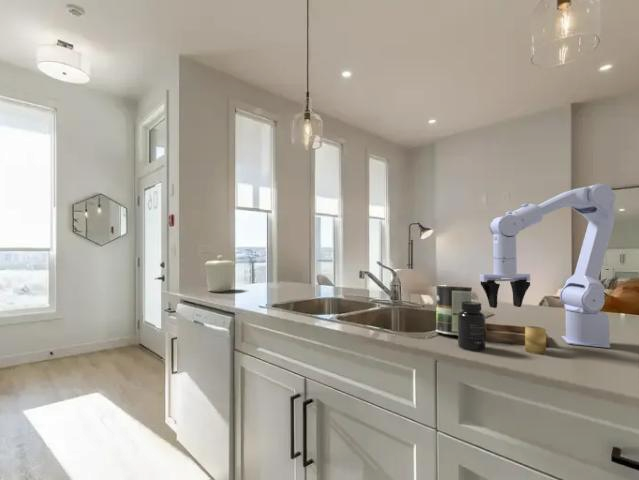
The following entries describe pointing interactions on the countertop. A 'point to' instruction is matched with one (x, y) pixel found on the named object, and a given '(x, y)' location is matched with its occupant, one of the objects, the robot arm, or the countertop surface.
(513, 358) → the countertop surface
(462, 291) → the coffee can
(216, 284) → the canister
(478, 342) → the supplement bottle
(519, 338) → the tray
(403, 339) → the countertop surface
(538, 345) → the tan wooden cylinder
